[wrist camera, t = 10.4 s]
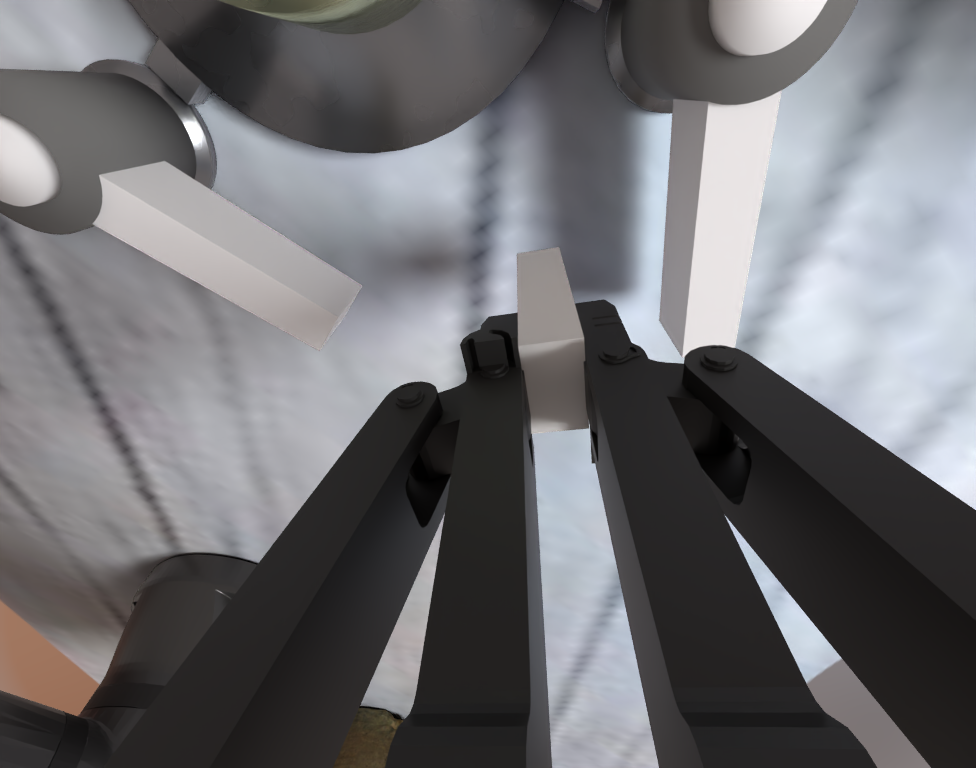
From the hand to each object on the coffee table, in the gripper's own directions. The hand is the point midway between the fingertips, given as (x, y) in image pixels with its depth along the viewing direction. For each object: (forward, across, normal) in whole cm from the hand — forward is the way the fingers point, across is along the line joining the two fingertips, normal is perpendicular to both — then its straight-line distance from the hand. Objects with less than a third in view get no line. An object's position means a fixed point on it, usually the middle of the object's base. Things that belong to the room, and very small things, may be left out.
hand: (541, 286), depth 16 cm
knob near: (+4, +6, +3) cm, 7 cm away
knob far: (+4, -12, +4) cm, 14 cm away
